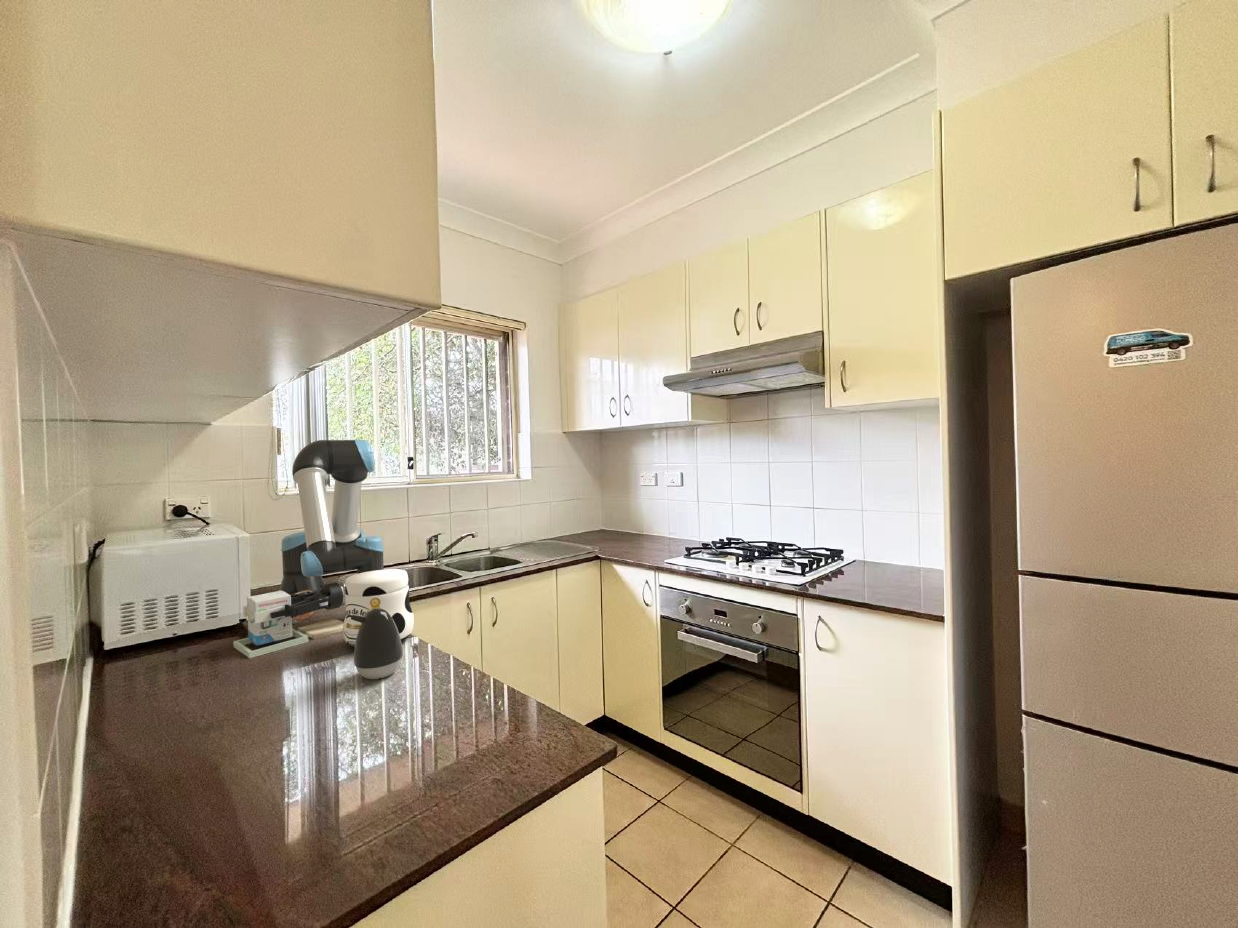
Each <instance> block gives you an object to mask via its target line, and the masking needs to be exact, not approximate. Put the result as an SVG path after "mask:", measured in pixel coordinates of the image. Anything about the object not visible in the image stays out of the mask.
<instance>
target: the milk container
mask: <svg viewBox="0 0 1238 928" xmlns="http://www.w3.org/2000/svg"><path fill="white" fill-rule="evenodd" d="M345 580H346V581H345V592H346V594H345V601H346V606H345V607H346V608H345V617H344V620H343V622H344V625H343V631H342V632H343V638H344V641H345V643H346V644H347V645H348V646H350V647H352V648H354V649H355V643H356V638H357V634H358V631H359V628H360V626H361V623H360V622H357V621H354V620H351V616H352V615H357V616H363V617H365V616H366V614H367V613H368V612H369V611H371V610H373V609H376V608H381V609H384V610H386V611H387V612H388V613H389V614H390V615H391V617H392V619H393V620H394V622H395V624H396V627H397V629H398V632H399V635H400V638H401V642H402V641H404V640H405V639H406V638H408V637H409V636H411V634H412V632H413V630H414V626H415V625H414V624H415V622H414V621H415V619H414V618H415V616H414V612H413V609H412V607H411V603H410V587H409V575H408V572H407V571H406V569H405V570H403V569H398V568H394V569H393V568H391V569H390V568H389V569H384V570H376V571H369V572H364V573H359V574H357V573H355V574H353V575H350V576H349V577H348V576H347V578H345Z"/></svg>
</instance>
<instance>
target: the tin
mask: <svg viewBox="0 0 1238 928" xmlns="http://www.w3.org/2000/svg"><path fill="white" fill-rule="evenodd" d="M307 591H310V592H314V591H313V590H304V591H300V592H298V593H296V594H300V593H304V592H307ZM315 612H316V611H312V612H309V613H306V614H303V615H299V616H296V617H293V618H292V625H295V624H298V623H300V622H302V621H304V620H305V619H307V618H309V617H311V616H313V615H314V614H315Z"/></svg>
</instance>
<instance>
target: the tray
mask: <svg viewBox="0 0 1238 928" xmlns="http://www.w3.org/2000/svg"><path fill="white" fill-rule="evenodd" d="M292 637H294V638H293V639H289V640H287V641H283V642H280V643H279V642H278V643H275V644H272V645H268V646H264V647H260V648H258V649H253V650H252V649H250V648H249V647H247V646H246V645H250V644H254V643H253V642H252V641H251V640H250V639H249V637H246V638H242V639H238V640H233V648H234V649H236V650H237V651H238V652H240V653H241V654H243V655H244V656H246V657H247V658H248V659H252V658H256V657H258V656H262V655H266V654H270V653H274V652H277V651H280V650H284V649H286V648H291V647H295V646H298V645H302V644H305V643H309V636H307V635H305V634H303V633H301V632H299V631H298V629H295V628H293V627H292Z"/></svg>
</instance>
